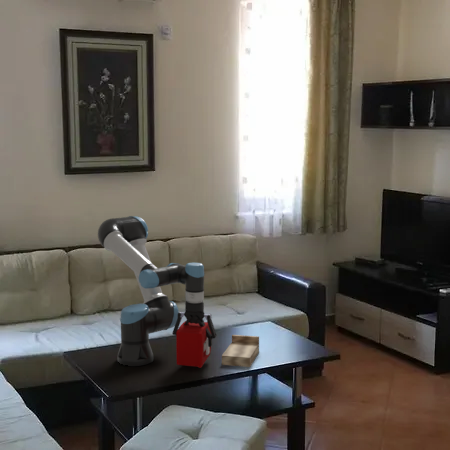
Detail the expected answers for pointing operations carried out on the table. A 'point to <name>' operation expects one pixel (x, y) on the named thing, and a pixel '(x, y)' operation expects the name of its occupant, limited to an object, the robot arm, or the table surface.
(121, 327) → the robot arm
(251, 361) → the wooden toy bed
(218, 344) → the table surface
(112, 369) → the table surface
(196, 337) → the fire alarm
